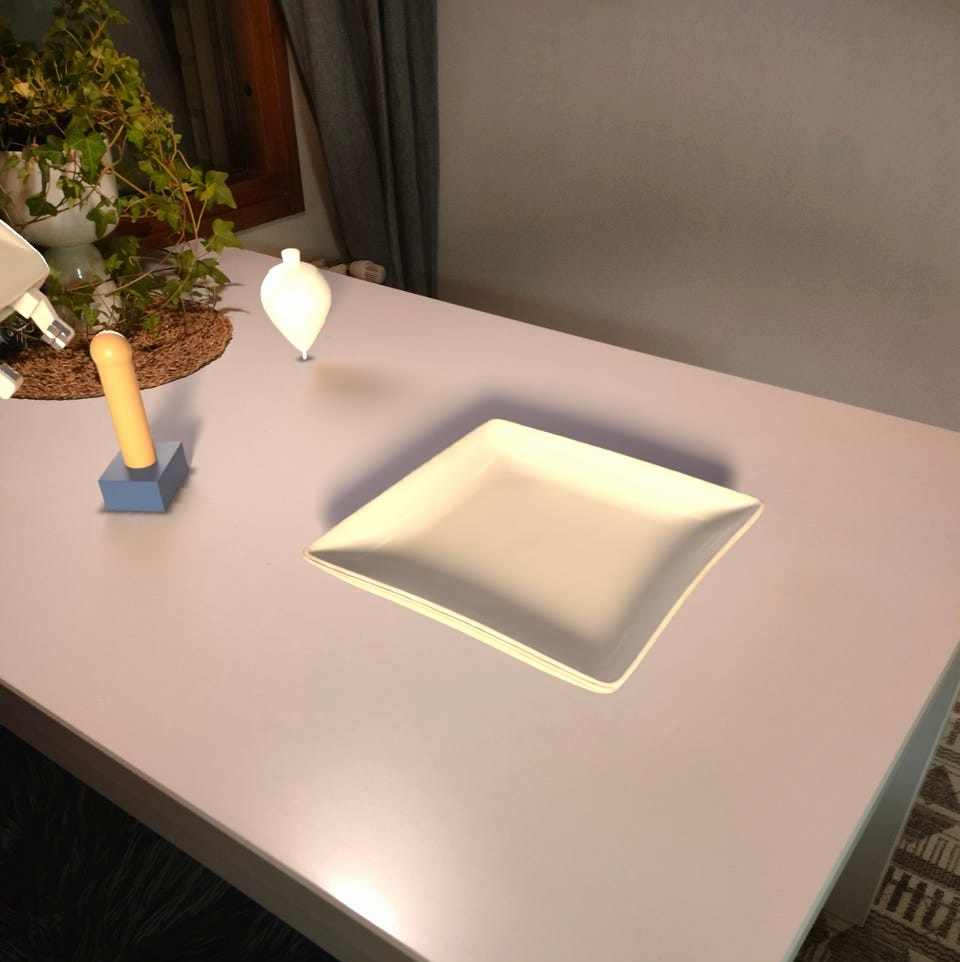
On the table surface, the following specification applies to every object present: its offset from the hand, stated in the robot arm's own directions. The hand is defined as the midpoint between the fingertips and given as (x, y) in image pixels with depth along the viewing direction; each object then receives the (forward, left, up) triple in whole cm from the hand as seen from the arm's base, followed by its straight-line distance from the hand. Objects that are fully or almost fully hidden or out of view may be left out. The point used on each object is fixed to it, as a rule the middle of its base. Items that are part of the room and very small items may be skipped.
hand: (43, 365), depth 74 cm
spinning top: (+17, +29, -13) cm, 36 cm away
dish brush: (+5, +1, -12) cm, 14 cm away
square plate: (+39, -13, -13) cm, 43 cm away
